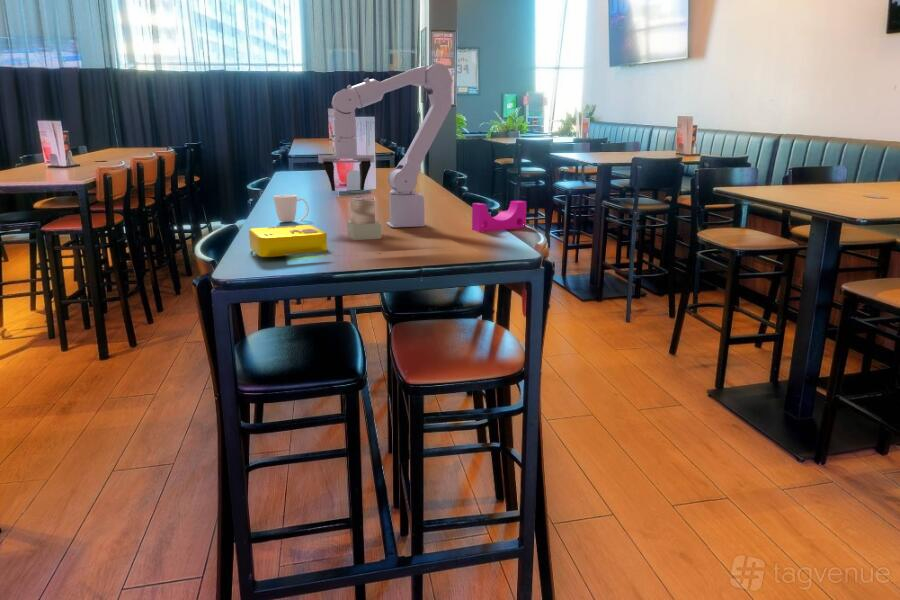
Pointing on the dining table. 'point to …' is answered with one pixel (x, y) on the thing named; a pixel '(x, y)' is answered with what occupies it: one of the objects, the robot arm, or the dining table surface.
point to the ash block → (363, 211)
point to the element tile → (287, 240)
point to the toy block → (498, 217)
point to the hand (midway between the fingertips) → (347, 190)
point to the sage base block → (364, 230)
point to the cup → (287, 207)
